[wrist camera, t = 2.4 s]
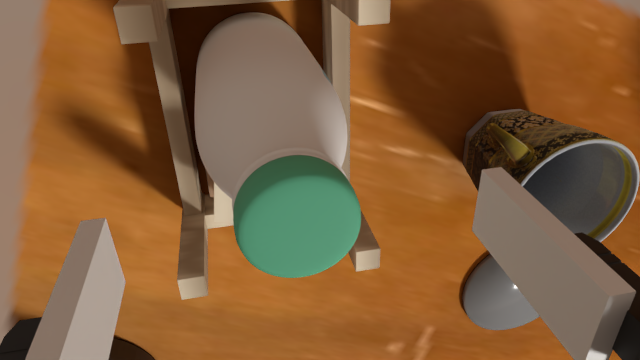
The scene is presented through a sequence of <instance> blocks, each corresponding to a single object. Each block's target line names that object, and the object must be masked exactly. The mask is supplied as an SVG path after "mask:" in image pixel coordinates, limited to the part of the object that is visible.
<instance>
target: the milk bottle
mask: <svg viewBox="0 0 640 360" xmlns="http://www.w3.org/2000/svg"><path fill="white" fill-rule="evenodd" d="M194 116H195V135H196V142H197V146H198V150H199V154H200V157H201V160H202V162H203V164H204V166H205V168H206V170H207V172H208V174H209V175H210V177H211V178H212V180H213V181H214V182H215V184H216V185H217V186H218V187H219V188H220V189H221V190H222V191H223V192H224V193H225V194H226V195H227V196H229V197H230V198H231V199H232V210H233V224H234V231H235V236H236V240H237V243H238V246H239V248H240V250H241V251H242V253H243V254H244V256H245V257H246V259H247V260H248V261H249V262H250V263H251V264H252V265H254V266H255V267H256V268H258V269H259V270H261V271H263V272H265V273H268V274H271V275H274V276H279V277H286V278H297V277H305V276H310V275H313V274H316V273H319V272H321V271H324V270H326V269H328V268H330V267H331V266H333V265H334V264H336V263H337V262H338V261H340V260H341V259H342V258H343V257H344V256H345V255H346V254H347V253H348V252H349V250H350V249H351V248H352V246H353V245H354V243H355V241H356V239H357V237H358V234H359V231H360V226H361V210H360V205H359V201H358V199H357V196H356V194H355V192H354V189H353V188H352V186H351V184H350V183H349V181H348V179H347V176H346V174H345V172H344V171H343V169H342V168H341V167H342V164H343V162H344V158H345V154H346V148H347V123H346V118H345V114H344V110H343V107H342V104H341V101H340V99H339V97H338V95H337V93H336V91H335V89H334V87H333V86H332V84H331V82H330V80H329V79H328V77H327V76H326V74H325V73H324V71H323V70H322V68H321V67H320V65H319V64H318V62H317V61H316V59H315V58H314V56H313V55H312V53H311V52H310V50H309V49H308V48H307V46H306V45H305V43H304V42H303V41H302V39H301V38H300V37H299V35H298V34H297V33H296V32H295V31H294V30H293V29H292V28H291V27H290V26H289V25H288V24H287V23H285V22H284V21H282V20H280V19H279V18H277V17H274V16H272V15H269V14H265V13H259V12H246V13H240V14H236V15H233V16H231V17H228V18H226V19H225V20H223V21H221V22H220V23H219V24H217V25H216V26H215V27H214V28H213V29H212V30H211V31H210V32H209V33H208V35H207V36H206V38H205V39H204V41H203V43H202V45H201V48H200V51H199V55H198V60H197V68H196V85H195V113H194Z"/></svg>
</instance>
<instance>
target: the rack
mask: <svg viewBox="0 0 640 360" xmlns="http://www.w3.org/2000/svg"><path fill="white" fill-rule="evenodd" d="M272 1H287V0H119V1H118V3H117V4H116V5H115V6H114V7H113V10H114V14H115V18H116V23H117V27H118V31H119V35H120V40H121V44H131V43H143V42H149V45H150V50H151V55H152V60H153V64H154V69H155V74H156V79H157V84H158V89H159V93H160V98H161V103H162V108H163V113H164V117H165V122H166V127H167V132H168V137H169V142H170V146H171V151H172V156H173V161H174V166H175V171H176V175H177V180H178V185H179V190H180V195H181V200H182V204H183V211H182V224H181V237H180V250H179V264H178V277H177V281H178V286H179V290H180V294H181V298H182V300H183V299H190V298H196V297H202V296H208V229H210V228H217V227H224V226H231V225H234V224H233V222H214V197H210V194H206V195H205V192H204V193H202V190H201V185H200V179H199V174H198V168H197V163H196V157H195V152H194V146H193V140H192V135H191V129H190V124H189V118H188V113H187V107H186V102H185V96H184V91H183V85H182V79H181V74H180V68H179V63H178V57H177V52H176V46H175V41H174V35H173V30H172V24H171V18H170V13H169V9H170V8H185V7H199V6H214V5H229V4H243V3H258V2H272ZM321 1H322V37H323V71H324V73H325V74H326V76H327V77H328V79H329V80H330V82H331V84H332V86H333V87H334V89H335V91H336V93H337V95H338V97H339V99H340V101H341V104H342V107H343V110H344V114H345V118H346V123H347V148H346V154H345V158H344V162H343V164H342V167H341V168H342V169H343V171H344V172H345V174H346V176H347V179H348V181H349V183H350V19H351V20H352V21H353V22H355V23H356V24H357V25H358V26H360V25H372V24H385V23H390V0H321ZM348 253H349V255H350V258H351V260H352V263H353V265H354V267H355V270H356V271H362V270H368V269H375V268H379V266H380V247H379V245H378V243H377V241H376V239H375V237H374V235H373V233H372V231H371V229H370V227H369V225H368V223H367V221H366V219H365V217H364V215H363V213H362V212H361V226H360V231H359V234H358V237H357V239H356V241H355V243H354V245H353V246H352V248H351V249H350V250H349V252H348Z"/></svg>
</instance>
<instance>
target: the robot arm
mask: <svg viewBox="0 0 640 360" xmlns="http://www.w3.org/2000/svg"><path fill="white" fill-rule="evenodd" d="M472 231H473V232H474V234H475V235H476V236H477V237H478V239H479V240H480V241H481V242H482V244H483V245H484V246H485V247H486V249H487V250H488V251H489V253H490V254H491V255H492V256H493V258H494V259H495V260H496V261H497V263H498V264H499V265H500V266H501V268H502V269H503V270H504V271H505V273H506V274H507V275H508V277H509V278H510V279H511V280H512V282H513V283H514V284H515V285H516V287H517V288H518V289H519V290H520V292H521V293H522V294H523V296H524V297H525V298H526V299H527V301H528V302H529V303H530V304H531V306H532V307H533V308H534V309H535V311H536V312H537V313H538V315H539V316H540V317H541V318H542V320H543V321H544V322H545V323H546V325H547V326H548V327H549V328H550V330H551V331H552V332H553V333H554V335H555V336H556V337H557V339H558V340H559V341H560V342H561V344H562V345H563V346H564V347H565V349H566V350H567V351H568V352H569V354H570V355H571V356H572V358H573V359H574V360H609V357H610V355H611V353H612V350H614V351H615V352H616V353H617V354H618V356H619V357H620V358H621V359H622V360H640V277H639V276H638V275H637V274H636V273H634V272H633V271H632V270H631V269H630V268H629V267H628V266H627V265H625V264H624V263H621V260H620V259H619V258H617V257H616V256H615V255H614V254H611V251H609V250H608V249H607V248H606V247H605V246H604V245H603V244H602V243H600V242H599V241H598V240H596V239H594V238H592V237H590V236H588V235H586V234H584V233H582V232H581V233H575V234H573V233H572V232H571V231H570V230H569V229H568V228H567V227H566V226H565V225H564V224H563V223H562V222H560V221H559V220H558V219H557V218H556V217H555V216H554V215H553V214H552V213H551V212H550V211H548V210H547V209H546V208H545V207H544V206H543V205H542V204H541V203H540V202H539V201H538V200H537V199H535V198H534V197H533V196H532V195H531V194H530V193H529V192H528V191H527V190H526V189H525V188H523V187H522V186H521V185H520V184H519V183H518V182H517V181H516V180H515V179H514V178H513V177H512V176H510V175H509V174H508V173H507V172H506V171H505V170H504V169H503V168H502V167H498V168H490V169H483V170H482V173H481V179H480V185H479V191H478V197H477V203H476V210H475V216H474V222H473V228H472ZM124 287H125V278H124V275H123V272H122V269H121V266H120V262H119V259H118V256H117V253H116V249H115V246H114V243H113V240H112V237H111V233H110V230H109V227H108V224H107V220H106V218H101V219H93V220H85V221H81V222H80V224H79V227H78V229H77V232H76V234H75V237H74V239H73V242H72V244H71V247H70V249H69V252H68V254H67V257H66V259H65V262H64V264H63V267H62V269H61V272H60V274H59V277H58V279H57V281H56V284H55V286H54V289H53V291H52V294H51V296H50V299H49V301H48V304H47V306H46V309H45V311H44V314H43V316H42V317H40V318H33V319H27V320H20V321H19V322H18V323H17V324H16V325H15V326H14V327H13V328H12V329H11V330H10V331H9V332H8V333H7V334H6V336H5V337H4V339H3V341H2V343H1V345H0V360H155V359H154V358H153V357H151V356H150V355H149V354H148V353H146V352H145V351H143V350H142V349H140V348H138V347H136V346H134V345H132V344H130V343H127V342H124V341H121V340H118V339H114V338H113V337H114V332H115V328H116V323H117V319H118V314H119V310H120V305H121V300H122V296H123V291H124Z"/></svg>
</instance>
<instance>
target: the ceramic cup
mask: <svg viewBox="0 0 640 360" xmlns="http://www.w3.org/2000/svg"><path fill="white" fill-rule="evenodd" d="M463 165H464V167H465V169H466V171H467V173H468V174H469V176H470V177H471V179H472V181H473V183H474V185H475V187H476V188H477V190H478V191H479V185H480V179H481V173H482V170H483V169H490V168H498V167H502V168H503V169H504V170H505V171H506V172H507V173H508V174H509V175H510V176H512V177H513V178H514V179H515V180H516V181H517V182H518V183H519V184H520V185H521V186H522V187H523V188H525V189H526V190H527V191H528V192H529V193H530V194H531V195H532V196H533V197H534V198H535V199H537V200H538V201H539V202H540V203H541V204H542V205H543V206H544V207H545V208H546V209H547V210H548V211H550V212H551V213H552V214H553V215H554V216H555V217H556V218H557V219H558V220H559V221H560V222H562V223H563V224H564V225H565V226H566V227H567V228H568V229H569V230H570V231H571V232H572V233H573V234H575V233H581V232H582V233H584V234H586V235H588V236H590V237H592V238H594V239H596V240H598V241H599V242H601V241H603V240H604V239H605V238H606V237H607V236H608V235H610V234H611V233H612V232H613V231H614V230H615V229H616V227H617V226H618V225H619V224H620V223H621V222H622V220H623V219H624V217H625V216H626V214H627V213H628V211H629V210H630V208H631V206H632V204H633V202H634V200H635V197H636V194H637V190H638V186H639V167H638V163H637V161H636V159H635V156H634V155H633V154H632V152H631V151H630V150H629V149H628V148H627V147H626V146H624V145H623V144H621V143H619V142H617V141H615V140H612V139H610V138H608V137H606V136H603V135H600V134H598V133H595V132H592V131H589V130H586V129H583V128H580V127H576V126H572V125H568V124H564V123H561V122H559V121H556V120H553V119H550V118H547V117H544V116H541V115H537V114H535V113H532V112H529V111H525V110H522V109H511V110H503V111H494V112H488V113H486V114H485V115H484V116H483V117H482V118H481V119H480V120H479V121H478V122H477V123H476V124H475V125H474V126H473V127H472V128H471V129H470V130H469V131H468V132H467V133H466V138H465V146H464V154H463Z"/></svg>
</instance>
